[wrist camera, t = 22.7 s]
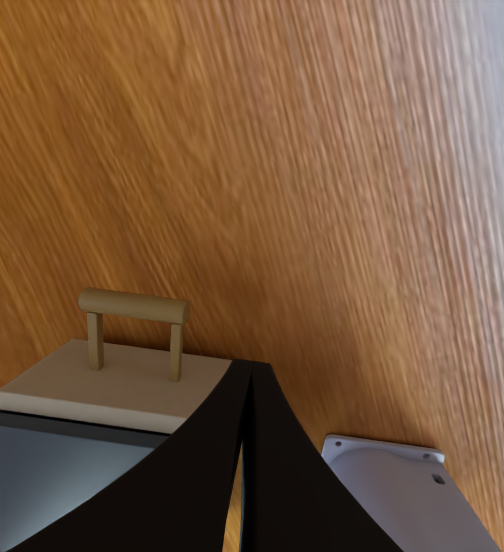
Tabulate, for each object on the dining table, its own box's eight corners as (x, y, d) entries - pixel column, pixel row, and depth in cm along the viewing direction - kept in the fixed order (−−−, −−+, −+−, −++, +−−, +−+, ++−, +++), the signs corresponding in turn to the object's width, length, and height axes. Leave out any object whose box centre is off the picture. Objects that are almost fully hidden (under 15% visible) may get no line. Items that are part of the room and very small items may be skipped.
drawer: (67, 268, 18) (-22, 297, 12) (246, 292, 18) (237, 332, 12) (82, 484, 23) (24, 572, 18) (220, 504, 23) (205, 600, 17)
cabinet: (74, 344, 21) (-32, 421, 13) (245, 368, 20) (233, 459, 13) (83, 491, 25) (7, 611, 17) (226, 513, 25) (209, 643, 17)
